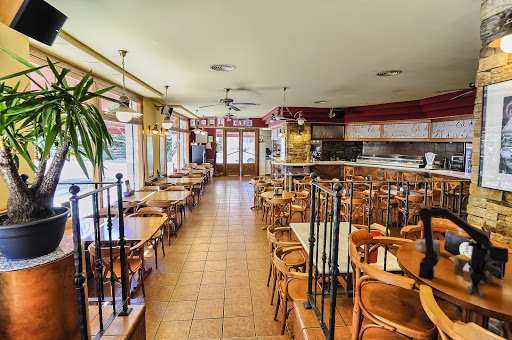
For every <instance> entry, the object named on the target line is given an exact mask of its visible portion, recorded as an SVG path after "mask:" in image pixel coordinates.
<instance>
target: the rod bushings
mask: <svg viewBox="0 0 512 340" xmlns="http://www.w3.org/2000/svg"><path fill="white" fill-rule="evenodd" d="M477 293H478V297H479V298H480V299H483V290H482V289H481V288H479V289H478V292H477ZM467 295H468V296H471V295H472V290H471V285H470V286H469V285H468V286H467Z"/></svg>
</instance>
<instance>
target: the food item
mask: <svg viewBox="0 0 512 340" xmlns="http://www.w3.org/2000/svg"><path fill="white" fill-rule="evenodd" d="M434 247H435V250H436V251H439V255H440V254H441V242H440V241H439V240H438V239H434ZM414 248H415V249H416V250H417V251H418V252H419V253H421V254H425V252H426V244H425V237H424V238H423V239H419V238H417V240H415V242H414Z"/></svg>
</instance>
